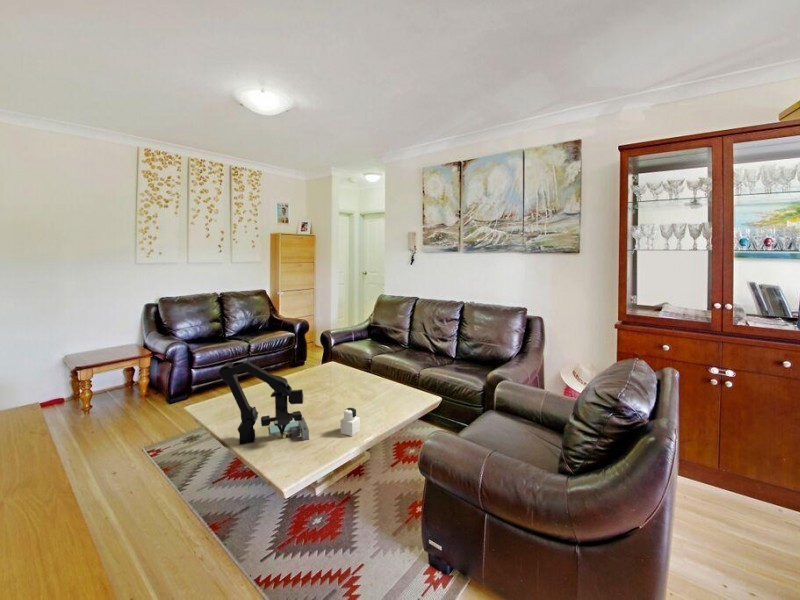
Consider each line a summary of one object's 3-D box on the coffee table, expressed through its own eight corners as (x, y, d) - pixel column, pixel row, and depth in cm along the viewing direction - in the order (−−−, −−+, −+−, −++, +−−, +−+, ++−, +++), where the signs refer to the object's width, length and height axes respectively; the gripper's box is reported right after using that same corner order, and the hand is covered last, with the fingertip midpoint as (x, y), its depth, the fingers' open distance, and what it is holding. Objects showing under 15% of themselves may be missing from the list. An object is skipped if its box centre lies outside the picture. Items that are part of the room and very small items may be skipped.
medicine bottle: (348, 427, 189) (348, 405, 188) (360, 430, 186) (359, 408, 184) (340, 433, 183) (339, 410, 181) (352, 436, 180) (351, 413, 178)
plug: (283, 439, 177) (283, 432, 177) (282, 435, 181) (282, 428, 180) (301, 435, 181) (301, 428, 180) (300, 432, 184) (300, 425, 184)
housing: (302, 440, 176) (302, 430, 175) (298, 427, 189) (297, 417, 188) (309, 439, 177) (308, 429, 176) (303, 426, 190) (303, 416, 189)
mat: (270, 434, 182) (270, 433, 182) (269, 426, 190) (269, 425, 190) (299, 429, 187) (299, 428, 187) (296, 421, 195) (296, 420, 195)
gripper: (261, 414, 166) (262, 446, 167) (303, 407, 173) (304, 439, 175) (260, 404, 176) (261, 435, 177) (300, 399, 183) (300, 429, 185)
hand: (281, 435), depth 178 cm, fingers closed
